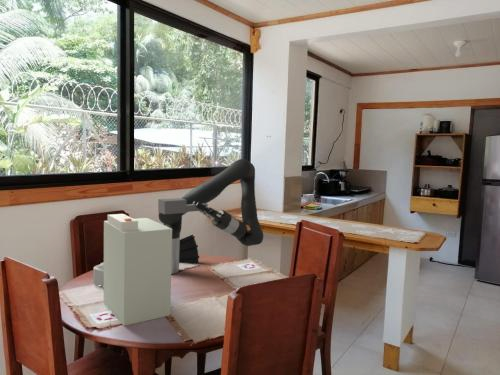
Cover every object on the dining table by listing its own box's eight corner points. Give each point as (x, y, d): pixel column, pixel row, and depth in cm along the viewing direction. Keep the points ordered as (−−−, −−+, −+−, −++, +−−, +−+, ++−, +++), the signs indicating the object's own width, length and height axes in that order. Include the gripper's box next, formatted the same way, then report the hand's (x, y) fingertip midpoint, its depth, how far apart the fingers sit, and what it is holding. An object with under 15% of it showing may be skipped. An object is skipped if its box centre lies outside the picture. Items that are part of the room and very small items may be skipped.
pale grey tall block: (103, 302, 152) (103, 211, 149) (145, 294, 162) (147, 209, 159) (123, 325, 133) (124, 222, 130) (170, 315, 143) (172, 218, 140)
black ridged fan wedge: (202, 261, 206) (191, 235, 206) (180, 270, 208) (169, 244, 208) (204, 259, 210) (193, 234, 209) (182, 268, 212) (171, 242, 211)
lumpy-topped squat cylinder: (119, 287, 169) (119, 267, 168) (89, 286, 169) (89, 266, 168) (126, 279, 179) (127, 261, 178) (98, 278, 179) (98, 259, 178)
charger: (158, 211, 152) (158, 199, 152) (202, 208, 164) (202, 196, 163) (164, 214, 147) (164, 201, 147) (209, 210, 159) (210, 198, 158)
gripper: (221, 211, 174) (191, 193, 164) (238, 216, 163) (208, 197, 153) (213, 226, 172) (182, 209, 163) (230, 233, 161) (199, 214, 152)
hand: (195, 203), depth 158 cm, fingers closed on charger, 2 cm apart
